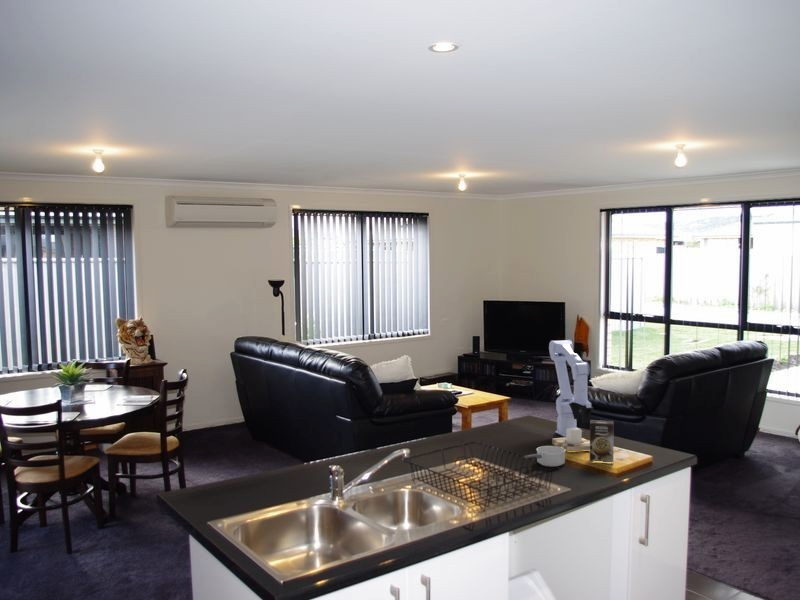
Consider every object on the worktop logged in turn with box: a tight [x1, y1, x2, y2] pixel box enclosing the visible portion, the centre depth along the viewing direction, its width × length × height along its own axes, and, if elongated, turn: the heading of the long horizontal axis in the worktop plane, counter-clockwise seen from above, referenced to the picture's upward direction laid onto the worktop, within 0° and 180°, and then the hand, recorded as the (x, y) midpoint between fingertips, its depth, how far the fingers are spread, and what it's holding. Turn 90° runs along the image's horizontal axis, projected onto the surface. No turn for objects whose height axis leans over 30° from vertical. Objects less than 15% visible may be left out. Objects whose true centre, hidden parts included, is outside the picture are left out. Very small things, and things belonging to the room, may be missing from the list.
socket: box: [551, 436, 590, 451], centre depth 288 cm, size 15×13×3 cm
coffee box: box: [589, 419, 615, 463], centre depth 267 cm, size 9×6×16 cm
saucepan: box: [523, 445, 566, 468], centre depth 264 cm, size 12×20×6 cm, turn 125°
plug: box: [566, 427, 585, 444], centre depth 288 cm, size 4×7×8 cm, turn 105°
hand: (580, 420), depth 294 cm, fingers open, 7 cm apart
